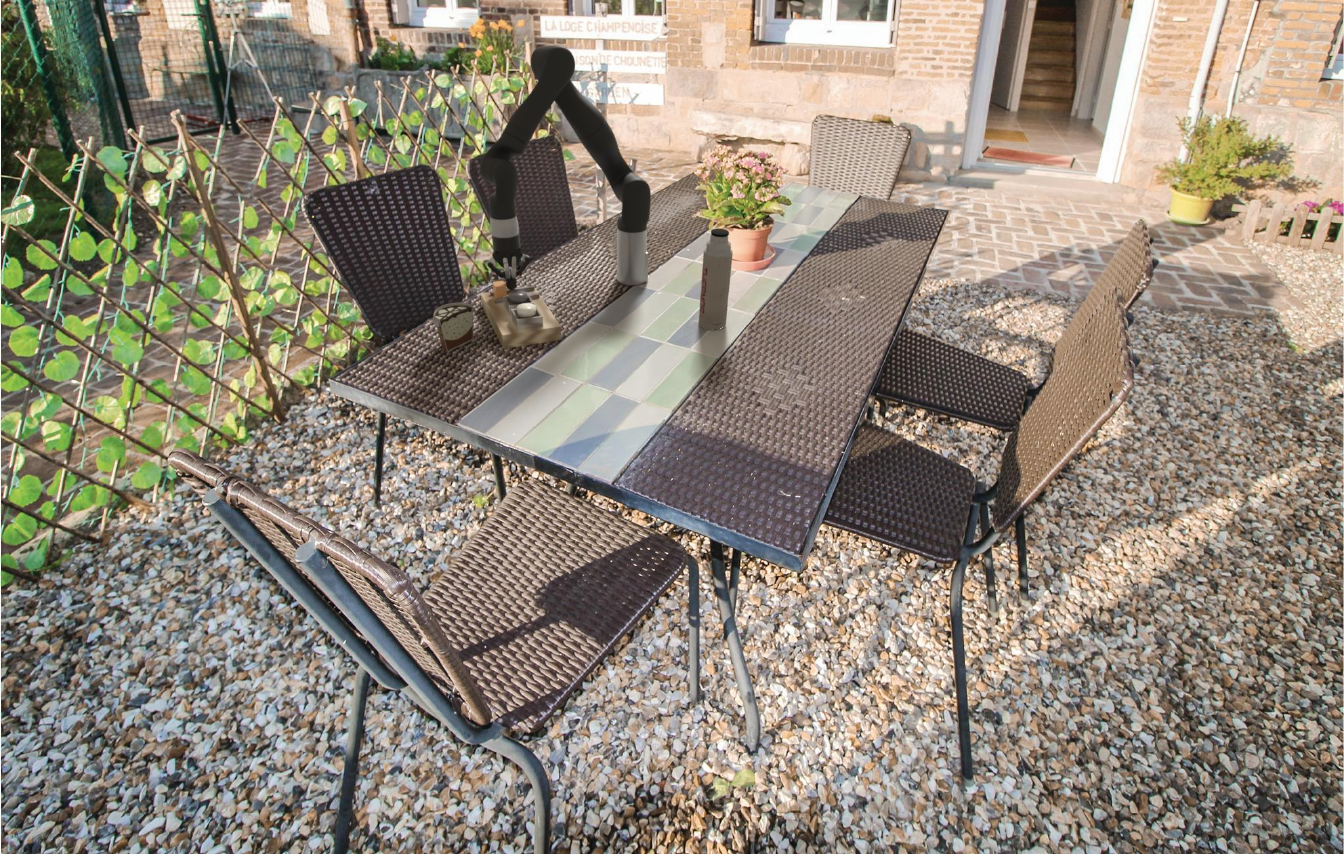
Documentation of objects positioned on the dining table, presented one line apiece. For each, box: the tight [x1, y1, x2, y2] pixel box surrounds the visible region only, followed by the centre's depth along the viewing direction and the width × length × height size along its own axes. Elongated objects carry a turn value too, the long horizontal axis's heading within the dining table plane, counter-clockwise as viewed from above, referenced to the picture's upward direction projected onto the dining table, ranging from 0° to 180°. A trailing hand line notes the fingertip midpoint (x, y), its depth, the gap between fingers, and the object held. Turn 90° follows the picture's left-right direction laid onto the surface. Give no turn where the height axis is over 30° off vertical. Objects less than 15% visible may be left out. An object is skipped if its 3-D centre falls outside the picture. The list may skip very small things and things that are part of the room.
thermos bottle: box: [698, 227, 733, 330], centre depth 208 cm, size 8×8×28 cm
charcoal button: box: [509, 290, 528, 304], centre depth 207 cm, size 5×5×2 cm
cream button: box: [517, 303, 536, 317], centre depth 201 cm, size 5×5×2 cm
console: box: [480, 285, 562, 349], centre depth 210 cm, size 16×28×7 cm, turn 24°
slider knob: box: [492, 280, 507, 299], centre depth 214 cm, size 3×4×4 cm
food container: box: [432, 302, 476, 353], centre depth 197 cm, size 12×6×10 cm, turn 145°
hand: (511, 289), depth 215 cm, fingers closed
